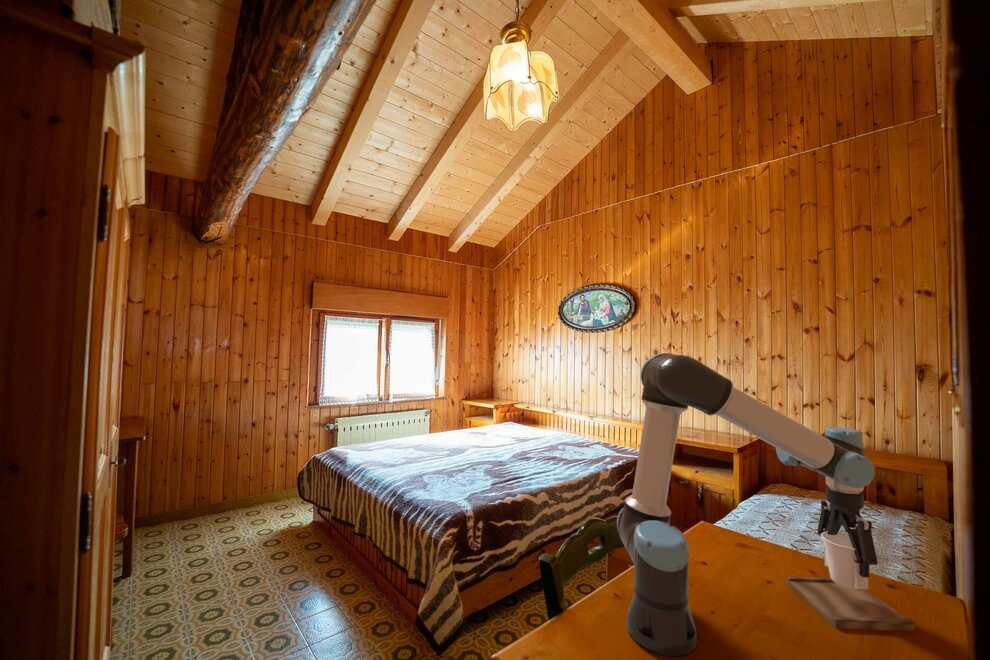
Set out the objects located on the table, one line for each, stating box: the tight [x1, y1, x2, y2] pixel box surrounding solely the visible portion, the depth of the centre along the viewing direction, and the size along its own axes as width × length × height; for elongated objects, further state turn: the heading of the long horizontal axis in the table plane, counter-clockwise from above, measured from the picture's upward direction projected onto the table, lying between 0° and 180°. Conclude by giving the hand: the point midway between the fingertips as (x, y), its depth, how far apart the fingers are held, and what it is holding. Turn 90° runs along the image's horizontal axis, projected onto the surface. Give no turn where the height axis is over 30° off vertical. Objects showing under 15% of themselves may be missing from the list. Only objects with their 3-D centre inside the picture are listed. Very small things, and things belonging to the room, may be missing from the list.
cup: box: [820, 531, 857, 589], centre depth 109 cm, size 10×10×11 cm
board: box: [786, 576, 916, 632], centre depth 109 cm, size 18×18×2 cm
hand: (845, 576), depth 109 cm, fingers closed on cup, 9 cm apart
